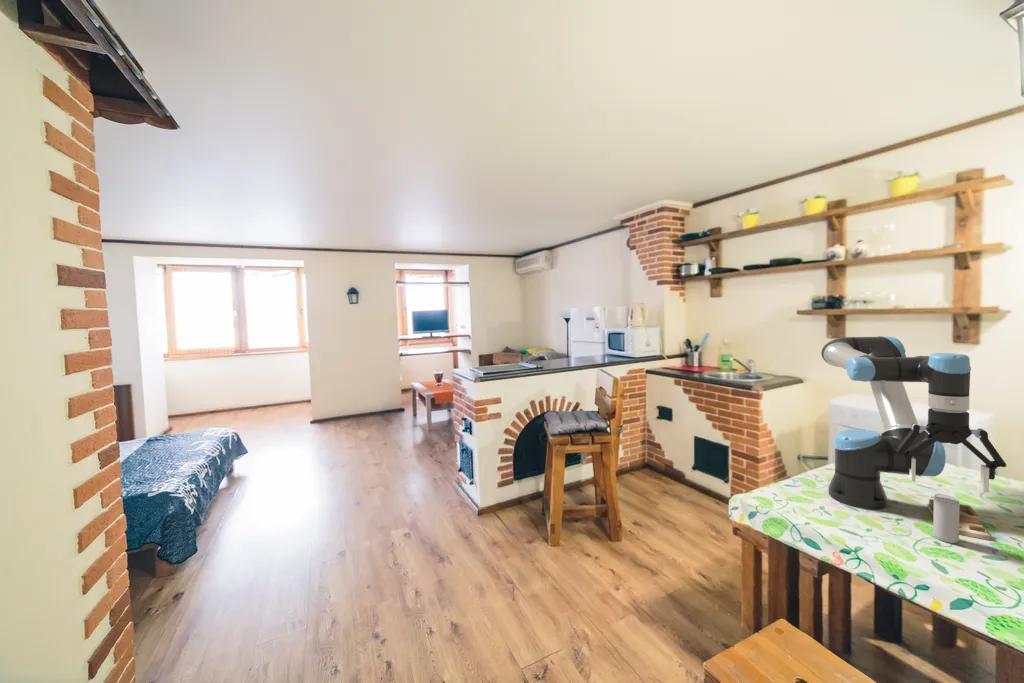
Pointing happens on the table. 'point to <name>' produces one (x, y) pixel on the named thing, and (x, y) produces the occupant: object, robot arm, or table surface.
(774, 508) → the table surface
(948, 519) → the beverage can
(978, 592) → the table surface
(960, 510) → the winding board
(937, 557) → the table surface
